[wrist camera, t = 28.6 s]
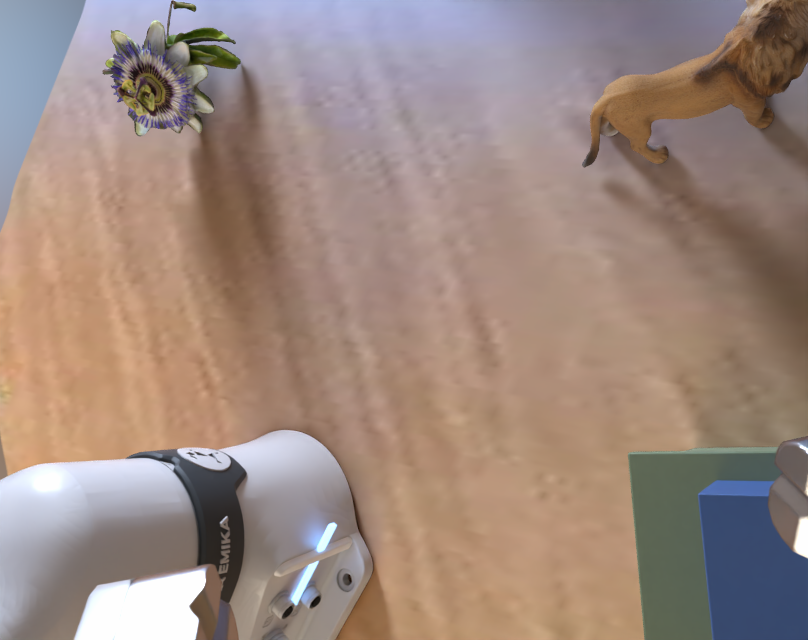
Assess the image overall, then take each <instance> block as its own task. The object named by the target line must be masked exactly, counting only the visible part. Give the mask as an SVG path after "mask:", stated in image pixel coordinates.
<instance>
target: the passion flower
mask: <svg viewBox="0 0 808 640" xmlns="http://www.w3.org/2000/svg"><path fill="white" fill-rule="evenodd" d="M172 4H173V7H174V9H177V8H187V9H189V10H192V11H194V12H195V11H196V6H195V5H193V4H189V3H184V2H175V1H174V0H172V1H171V5H170V10H169V16H168V24H167V37H166V39H165V31H164V27H163V25H162V24H161V23H160V22H159V21H157V20H154V21H153V22H152V24H151V25H150V27H149V29H148V31H147V37H146V39H145V41H144V45H143V46H142V48H143V49H141V48H140V47H139V45H138V46H137V45H136V44H135V43H134V42H133V41H132V40H131V39H130V38H129V37H128V36H127V35H126V34H124V33H122V32H121V31H119V30H116V31H111V39H112V42H113V44H114V45H115V48H116V53H117V55H116V54H114V55H113V58H112V59H109V60H107V61H106V66H107V67H109V69H105V70H103V74H104V75H105V74H113V75H112V76H111V77H112V78H114V82H115V84H114V85H111V87H112V88H114V89H115V90H116V92H115V93H113V94H114V95H117V96H118V97H119V100H118V101H117V102H121V101H124V102H125V104H126V105H127V106H128V107H129V112H128V115H129V116H130V117H131V118H132V119H133V120H134V123H135V132H136V134H137V135H138V136H143V135H144V134H146V133H147V132H148V131H149V129H150V128H158V129H166V128H167V127H170V128H171V129H172V130H174V131H175V132H177V133H181V130H182V129H183V126H185V125H186V124H188V125H189V126H190V127H191V128H193V129H194V130H196V131H197V132H198V133H200V132H201V131H202V128H203V125H202V121H201V118H200V117H199V116H198V115H197V114H196V113H195V112H196V111H198V112H201V113H205V114H208V113H213V112H214V106H213V103H212V101H211V99H210V98H209V97H207V96H206V95H205V94H204V93H202V92H201V91H200V90H199V89H198V88H197V85H198V83H199V82H201V81H202V80H204V79H205V78H206V77H207V75H208V71H207V68H206V67H205V66H204V65H202V64H206V65H210V66H215V67H220V68H227V69H236V68H237V66H238V64H240V62H241V61H240V59H239V58H238V57H236V56H235V55H234V54H232V53H231V52H229V51H228V50H226V49H224V48H222V47H220V46H216V45H189V44H191V43H197V42H201V41H218V42H220V41H225V42H232V43H233V44H236V42H235V41H234V40H231V39H230V38H229V37H228V36H227V35H225V34H224V33H223V32H222V31H218V30H217V29H214V28H200V29H196V30H193V31H191V32H187V33H186V34H184V33H179V34H178V35H171V36H169V34H168V32H169V25H170V16H171V8H172Z"/></svg>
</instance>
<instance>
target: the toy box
mask: <svg viewBox="0 0 808 640" xmlns="http://www.w3.org/2000/svg"><path fill="white" fill-rule="evenodd" d="M777 449H778V447H739V448H694V449H690V450H687V451H655V452H631V453H629V454H628V459H629V471H630V482H631V493H632V504H633V515H634V527H635V538H636V549H637V560H638V571H639V583H640V594H641V605H642V616H643V627H644V639H645V640H713V639H712V629H711V619H710V609H709V599H708V590H707V580H706V570H705V560H704V550H703V540H702V530H701V521H700V511H699V501H698V494H699V493H700V492H701V491H703V490H704V489H705V488H707V487H708V486H709V485H711V484H712V483H713V482H715V481H717V480H719V481H775V480H776V479H777V478H778V477H779V476H780V475H781V472H780V470H779V469H778V468H777V467H776V465H775V464H774V461H775V456H776V451H777Z"/></svg>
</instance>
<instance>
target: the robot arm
mask: <svg viewBox="0 0 808 640" xmlns="http://www.w3.org/2000/svg"><path fill="white" fill-rule="evenodd" d="M774 464H775V465H776V467H777V468H778V469H779V470H780V472H781V475H780V476H779V477H778V478H777V479H776V480H775V482H774V483H773V484H772V485H771V486H770V490H769V498H768V508H769V512H770V515H771V519H772V522H773V525H774V526H775V528H776V530H777V532H778V533H779V535H780V537H781V538H782V539H783V540H784V542H785V543H786V544H787V545H788V546H789V547H790V548H791V550H792V551H793V552H795V553H797V554H800V555H802V556H804V557H806V558H808V436H805V437H801V438H796V439H792V440H787V441H783V442H782V444H781V445H780V446H779V447H778V449H777V451H776V456H775V461H774ZM372 572H373V562H372V558H371V555H370V553H369V551H368V548H367V546H366V544H365V542H364V540H363V538H362V537H361V535H360V533H359V531H358V527H357V523H356V518H355V511H354V505H353V499H352V495H351V491H350V488H349V485H348V482H347V480H346V477H345V475H344V473H343V471H342V469H341V467H340V465H339V464H338V462H337V461H336V459H335V458H334V456H333V455H332V454H331V453H330V452H329V450H328V449H327V448H326V447H325V446H323V445H322V444H321V443H320V442H319V441H317V440H316V439H314V438H313V437H311V436H309V435H307V434H304V433H302V432H298V431H293V430H279V431H274V432H271V433H268V434H266V435H263V436H261V437H259V438H257V439H255V440H253V441H250V442H247V443H244V444H240V445H237V446H233V447H228V448H224V449H219V450H215V449H206V448H181V449H171V450H159V451H148V452H140V453H136V454H133V455H131V456H129V457H127V458H126V459H116V460H99V461H82V462H63V463H45V464H39V465H35V466H31V467H29V468H26V469H23V470H20V471H18V472H16V473H14V474H11V475H9V476H7V477H6V478H4V479H2V480H0V640H335V639H336V637H337V636H338V634H339V632H340V630H341V629H342V627H343V625H344V623H345V621H346V620H347V618H348V616H349V614H350V613H351V611H352V609H353V607H354V606H355V604H356V602H357V600H358V598H359V597H360V595H361V593H362V591H363V590H364V588H365V586H366V584H367V583H368V581H369V579H370V577H371V575H372ZM348 575H350V576H351V578H352V582H350V581H349V579H348Z"/></svg>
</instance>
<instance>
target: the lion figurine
mask: <svg viewBox="0 0 808 640" xmlns="http://www.w3.org/2000/svg"><path fill="white" fill-rule="evenodd" d="M746 3H747V8H746V9H745V11H744V12H743V13H742V15H741V16H740V18H739V21H738V23H737V25H736V26H735V27H734V28H733V29H732V31H730V32H729V33H727V34H726V36H725V39H724V43H722V44H721V45H720V46H719V47H718V48H717V49H716V50H715V51H714V52H713V53H711V54H708V55H705V56H702V57H698V58H695V59H692V60H690V61H687V62H684V63H682V64H679V65H677V66H675V67H673V68H671V69H669V70H666V71H663V72H660V73H657V74H651V75H626V76H623V77H620V78H618V79H617V80H615V81H613V82H612V83H610V84H609V85H607V86H606V88H605V89H604V92H603V96H602V97H601V98H600V99H599V100H598V101H597V102H596V103H595V105H594V107H593V109H592V112H591V115H590V127H591V136H592V144H591V148H590V152H589V153H588V155H587V157H586V159H585V160H584V162H583V164H582V166H583V167H584V168H585V167H586V166H588V165H591V164H592V163H593V162H594V161H595V159H596V157H597V154H598V151H599V142H600V134H602V135H604V136H613V135H615V134H617V133H618V132H620V133H621V134H623V135H624V136H625V137H627V138H628V139H629V140H630V141H631V144H630V147H631V149H632V150H634V151H635V152H638V153H639V154H641V155H643V156H644V157H645V158H646V159H648V160H649V161H651V162H653V163H657V164H660V163H664V162H665V161H666V160H667V159H668V156H669V155H668V149H667V147H666V146H663V145H657V146H649V145H647V142H648V139H649V138H650V136H651V124H652V122H653V121H654V120H658V119H689V118H694V117H699V116H702V115H706V114H709V113H711V112H714V111H716V110H718V109H720V108H723V107H725V106H727V105H728V104H732V105H733V106H735V107H737V108H739V109H741V110H742V112H743V114H744V117H745V119H746V120H747V121H748V122H749V123H750V124H751V125H752V126H755V127H757V128H766V127H768V126H769V125H770V124H771V123H772V121H773V118H774V114H773V113H772V110H771V109H770V108H765V105H766V98H767V97H771V96H772V95H773V94H778V93H780V92H784V91H785V90H786V88H787V87H788V86H789V84H790V82H791V80H793V79H796V78H798V77H799V76H800V75H801V74H802V72H803V70H804V67H805V65H806V63H807V62H808V0H746Z"/></svg>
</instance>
